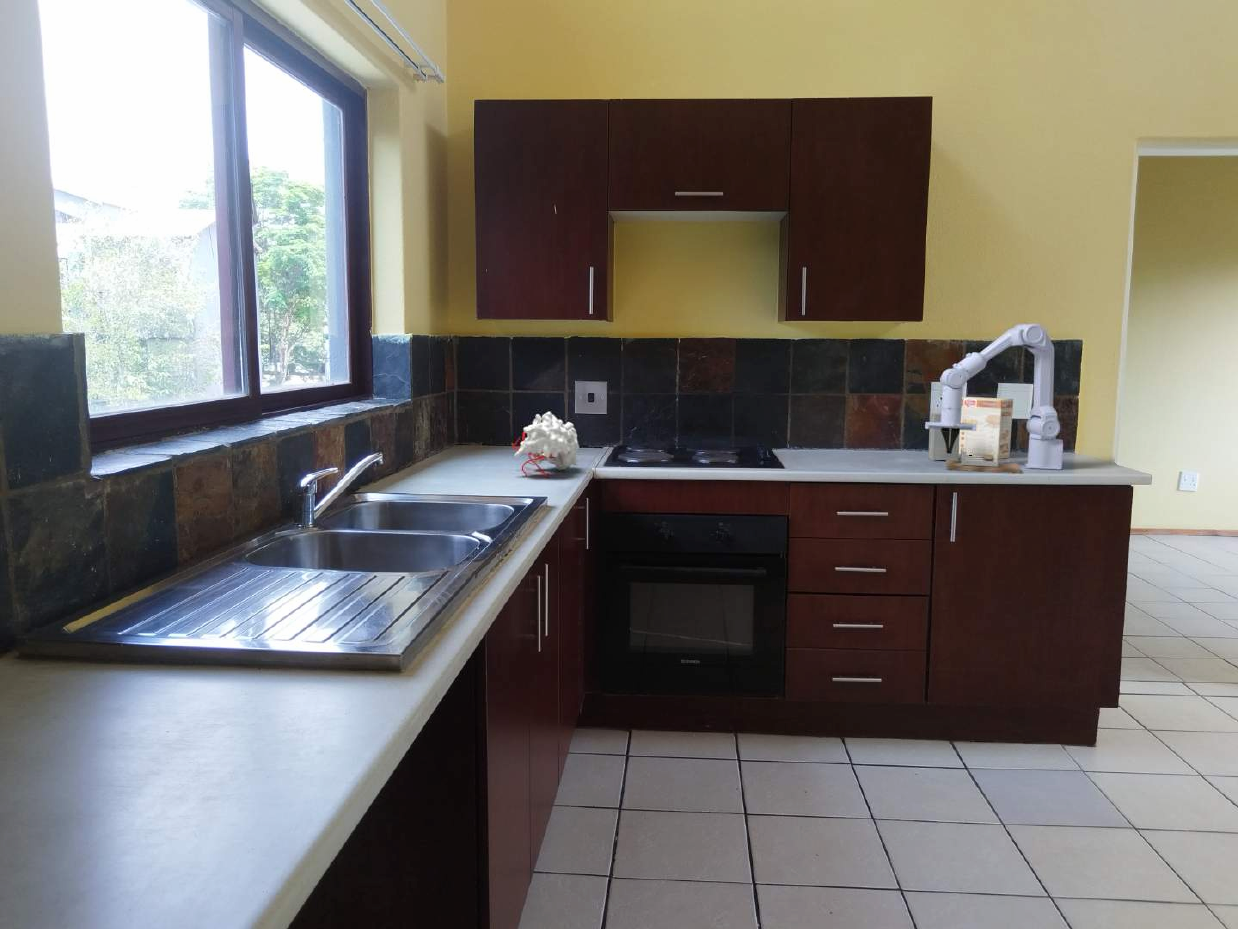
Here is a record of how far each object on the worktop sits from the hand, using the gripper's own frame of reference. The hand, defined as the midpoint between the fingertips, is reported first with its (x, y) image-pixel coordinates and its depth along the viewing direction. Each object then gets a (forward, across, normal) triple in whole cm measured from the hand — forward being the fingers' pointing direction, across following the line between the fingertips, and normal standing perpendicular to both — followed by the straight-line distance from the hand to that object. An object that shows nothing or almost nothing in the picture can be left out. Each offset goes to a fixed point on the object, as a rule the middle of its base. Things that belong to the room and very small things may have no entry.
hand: (949, 453), depth 276 cm
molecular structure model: (+4, -107, -59) cm, 123 cm away
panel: (+3, +9, 0) cm, 9 cm away
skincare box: (+4, -2, +16) cm, 17 cm away
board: (+4, +10, 0) cm, 10 cm away
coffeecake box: (+4, +12, +32) cm, 34 cm away
